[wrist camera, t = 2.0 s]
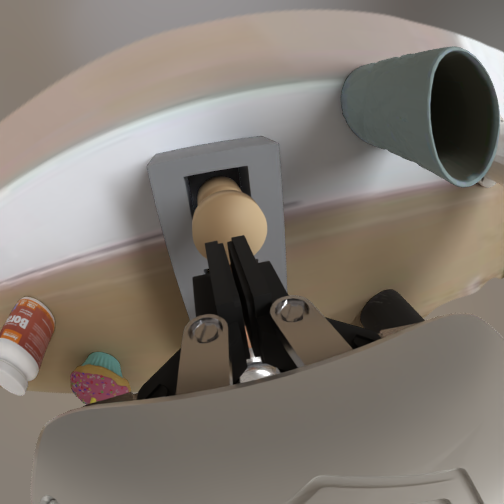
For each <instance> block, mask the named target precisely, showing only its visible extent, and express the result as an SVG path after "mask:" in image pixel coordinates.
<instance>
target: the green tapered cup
mask: <svg viewBox="0 0 504 504" xmlns="http://www.w3.org/2000/svg"><path fill="white" fill-rule="evenodd" d="M341 103H342V110H343V115H344V117H345V118H346V122H347V123H348V125H349V127H350V128H351V129H352V131H353V132H354V133H355V134H356V135H357V136H358V137H359V138H360V139H362V140H363V141H365V142H367V143H369V144H372V145H374V146H377V147H379V148H382V149H387V150H388V151H390V152H391V153H394V154H396V155H398V156H401V157H402V158H405V159H407V160H409V161H413V162H415V163H417V164H418V165H419V166H421V167H423V168H425V169H427V170H429V171H431V172H433V173H434V174H436V175H438V176H439V177H441V178H443V179H445V180H446V181H448V182H450V183H451V184H453V185H455V186H457V187H470V186H472V185H474V184H476V183H477V182H479V181H480V180H481V179H482V178H483V177H484V176H485V174H486V173H487V172H488V170H489V168H490V167H491V165H492V162H493V160H494V158H495V155H496V151H497V148H498V140H499V133H500V112H499V105H498V99H497V95H496V92H495V89H494V86H493V83H492V81H491V78H490V76H489V74H488V73H487V71H486V69H485V68H484V66H483V65H482V64H481V62H480V61H479V60H478V59H477V58H476V57H475V56H474V55H473V54H471V53H470V52H469V51H467V50H464V49H462V48H460V47H445V48H439V49H433V50H428V51H424V52H419V53H415V54H407V55H402V56H401V57H399V58H398V57H393V58H390V59H386V60H382V61H379V62H377V63H371V64H367V65H364V66H361V67H359V68H357V69H356V70H354V71H353V72H352V73H351V74H350V75H349V76H348V78H347V79H346V81H345V83H344V86H343V89H342V94H341Z"/></svg>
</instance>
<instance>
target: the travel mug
mask: <svg viewBox="0 0 504 504" xmlns="http://www.w3.org/2000/svg"><path fill="white" fill-rule="evenodd" d="M423 321H425V320H424V319H423V318H422V317H421V316H420V315H419V314H418V313H417V312H416V311H415V310H414V309H413V307H412V306H411V305H410V304H409V303H408V302H407V301H406V300H405V299H404V298H403V297H402V296H401V295H400V294H399V293H398V292H396V291H395V290H385V291H382V292H380V293H378V294H377V295H375V296H374V297H373V298H372V299H371V300H370V301H369V302H368V303H367V304H366V306H365V307H364V309H363V311H362V313H361V323H362V325H363V326H364V328H365V329H369V330H371V331H374V332H376V333H377V334H379V333H380V331H381V330H385V329H390V328H395V327H401V326H406V325H411V324H415V323H420V322H423Z"/></svg>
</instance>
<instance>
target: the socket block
mask: <svg viewBox="0 0 504 504" xmlns="http://www.w3.org/2000/svg"><path fill="white" fill-rule="evenodd" d="M235 167H238V170H239V178H240V186H241V191H242V192H243V193H245V194H247V195H249V196H250V197H251V198H252V199H253V200H254V201H255V202H256V203H257V205H258V206H259V208H260V209H261V211H262V212H263V214H264V216H265V218H266V222H267V235H266V239H265V241H264V244H263V245H262V247H261V248H260V250H259V251H258V252H257V253H256V254H255V255H254V257H255V259H256V261H257V263H260V262H265V261H270V262H271V264H272V266H273V268H274V270H275V271H276V273H277V275H278V277H279V279H280V281H281V282H282V284H283V286H284V288H285V290H286V292H287V272H286V248H285V228H284V210H283V194H282V179H281V165H280V152H279V143H277V142H275V141H272V140H270V139H268V138H265V137H263V136H257V137H249V138H241V139H234V140H227V141H221V142H214V143H208V144H203V145H197V146H192V147H187V148H182V149H177V150H172V151H167V152H163V153H159V154H156V155H155V156H154V157H153V158H152V160H151V161H150V162H149V164H148V165H147V170H148V174H149V179H150V183H151V187H152V192H153V196H154V200H155V204H156V208H157V212H158V216H159V220H160V224H161V227H162V231H163V235H164V239H165V242H166V246H167V249H168V253H169V256H170V259H171V263H172V266H173V270H174V273H175V276H176V279H177V282H178V286H179V289H180V292H181V295H182V298H183V301H184V304H185V307H186V310H187V313H188V316H189V319H190V321H191V320H192V319H194V318H196V313H195V303H194V292H193V281H192V277H194V276H199V275H204V274H208V271H207V269H209V267H208V261H207V259H206V258H205V257H203V256H202V255H201V254H200V253H199V251H198V250H197V248H196V246H195V244H194V241H193V236H192V220H193V215H194V212H195V210H194V207H193V202H192V197H191V191H190V186H189V181H188V176H190V175H195V174H200V173H206V172H211V171H217V170H223V169H229V168H235Z"/></svg>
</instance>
